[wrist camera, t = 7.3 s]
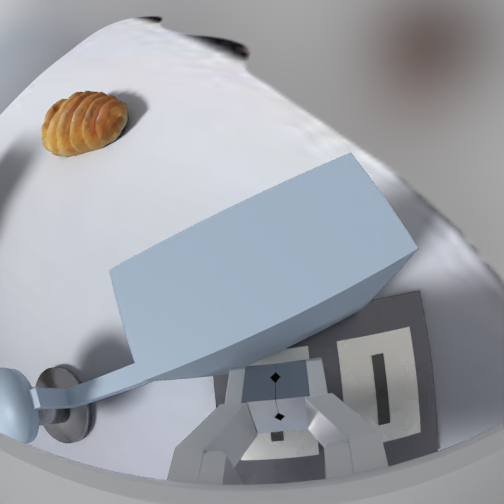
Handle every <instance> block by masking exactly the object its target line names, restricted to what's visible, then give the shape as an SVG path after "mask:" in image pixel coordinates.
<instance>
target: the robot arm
mask: <svg viewBox="0 0 504 504" xmlns="http://www.w3.org/2000/svg"><path fill="white" fill-rule="evenodd" d="M307 375H308V376H307ZM302 429H309V431H310V432H311V433H312V434H313V435H314V437H315V438H316V439H317V440H318V441H319V442H320V444H321V445H322V446H323V447H324V456H325V479H321V480H313V481H304V482H293V483H280V484H260V485H244V483H243V482H242V480H241V479H240V477H239V475H238V474H237V472H236V471H235V469H234V467H235V466H236V464H237V463H238V462H239V460H240V459H241V458H242V456H243V455H244V453H245V452H246V451H247V449H248V448H249V447H250V445H251V444H252V442H253V441H254V440H255V438H256V437H257V435H258V434H259V433H270V432H280V431H291V430H302ZM0 504H504V423H502V424H500V425H498V426H496V427H494V428H492V429H490V430H488V431H486V432H483V433H481V434H479V435H477V436H475V437H472V438H470V439H468V440H465V441H463V442H461V443H458V444H456V445H453V446H451V447H448V448H445V449H443V450H440V451H437V452H434V453H431V454H429V455H426V456H422V457H419V458H416V459H413V460H410V461H406V462H403V463H399V464H396V465H392V466H388V462H387V458H386V454H385V450H384V446H383V442H382V438H381V434H380V432H379V431H378V430H377V429H375V428H374V427H373V426H372V425H371V424H369V423H368V422H367V421H366V420H364V419H363V418H362V417H361V416H359V415H358V414H357V413H356V412H355V411H353V410H352V409H351V408H350V407H349V406H347V405H346V404H345V403H344V402H343V401H341V400H340V399H339V398H338V397H337V396H335V395H334V394H333V393H329V394H328V391H327V385H326V379H325V374H324V368H323V362H322V358H321V357H317V358H311V359H306V360H298V361H291V362H284V363H276V364H267V365H254V366H245V367H231V369H230V372H229V378H228V385H227V391H226V398H225V404H220V405H219V406H218V407H217V408H216V409H215V410H214V411H213V412H212V413H211V414H210V415H209V416H208V417H207V418H206V419H205V420H204V421H203V422H202V423H201V424H200V425H199V426H198V427H197V428H196V429H195V430H194V431H193V432H192V433H191V434H189V435H188V436H187V437H186V438H185V439H184V440H183V441H182V442H181V443H180V444H179V445H178V446H177V447H176V448H175V450H174V454H173V458H172V462H171V466H170V470H169V474H168V478H167V480H161V479H154V478H147V477H141V476H136V475H130V474H125V473H120V472H115V471H111V470H107V469H102V468H98V467H94V466H91V465H87V464H83V463H80V462H76V461H73V460H70V459H66V458H63V457H60V456H57V455H54V454H51V453H49V452H46V451H43V450H40V449H38V448H35V447H32V446H30V445H28V444H25V443H23V442H20V441H18V440H16V439H13V438H11V437H9V436H7V435H5V434H3V433H0Z"/></svg>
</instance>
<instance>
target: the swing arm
mask: <svg viewBox="0 0 504 504" xmlns="http://www.w3.org/2000/svg"><path fill="white" fill-rule="evenodd" d="M417 249H418V247H417V246H416V244H415V242H414V241H413V239H412V238H411V236H410V234H409V233H408V231H407V230H406V228H405V227H404V225H403V224H402V222H401V221H400V219H399V218H398V216H397V215H396V213H395V212H394V210H393V209H392V207H391V206H390V204H389V203H388V201H387V200H386V199H385V197H384V196H383V194H382V193H381V192H380V190H379V189H378V187H377V186H376V185H375V183H374V182H373V181H372V179H371V178H370V177H369V175H368V174H367V173H366V171H365V170H364V169H363V167H362V166H361V165H360V163H359V162H358V161H357V160H356V158H355V157H354V156H353V155H352V153H349V154H346V155H344V156H342V157H339V158H337V159H335V160H332V161H330V162H328V163H325V164H323V165H321V166H319V167H316V168H314V169H312V170H309V171H307V172H305V173H303V174H300V175H298V176H296V177H294V178H292V179H289V180H287V181H285V182H283V183H281V184H278V185H276V186H274V187H272V188H270V189H268V190H265V191H263V192H261V193H259V194H257V195H255V196H253V197H251V198H248V199H246V200H244V201H242V202H240V203H238V204H236V205H234V206H232V207H230V208H228V209H226V210H224V211H221V212H219V213H217V214H215V215H213V216H211V217H209V218H207V219H205V220H203V221H201V222H199V223H197V224H195V225H193V226H191V227H189V228H187V229H185V230H183V231H181V232H180V233H178V234H176V235H174V236H172V237H170V238H168V239H166V240H164V241H162V242H160V243H158V244H156V245H155V246H153V247H151V248H149V249H147V250H145V251H143V252H141V253H139V254H138V255H136V256H134V257H132V258H130V259H128V260H126V261H125V262H123V263H121V264H119V265H117V266H116V267H114V268H112V269H110V270H109V272H110V277H111V281H112V285H113V289H114V293H115V297H116V301H117V305H118V309H119V313H120V316H121V320H122V323H123V327H124V330H125V334H126V337H127V340H128V344H129V347H130V350H131V353H132V356H133V359H134V362H135V363H133V364H131V365H128V366H126V367H123V368H121V369H118V370H116V371H113V372H111V373H108V374H105V375H103V376H100V377H97V378H95V379H92V380H89V381H87V382H84V383H81V384H78V385H76V386H73V387H70V388H67V389H55V388H34V389H32V387H31V385H30V383H29V381H28V380H27V378H26V377H25V376H24V375H23V374H22V373H21V372H20V371H18V370H15V369H9V368H0V433H3V434H5V435H7V436H9V437H11V438H13V439H16V440H18V441H20V442H23V443H30V442H32V441H33V440H34V439H35V438H36V436H37V433H38V429H39V410H44V409H64V408H75V407H79V406H82V405H85V404H88V403H92V402H95V401H98V400H101V399H104V398H107V397H110V396H113V395H116V394H119V393H122V392H125V391H128V390H131V389H134V388H136V387H139V386H142V385H145V384H148V383H150V382H153V381H159V380H174V379H186V378H197V377H207V376H216V375H224V374H229V372H230V369H231V367H245V366H248V365H250V364H252V363H255V362H257V361H259V360H261V359H264V358H266V357H268V356H270V355H272V354H275V353H277V352H279V351H281V350H283V349H285V348H288V347H290V346H292V345H294V344H296V343H298V342H300V341H302V340H304V339H306V338H308V337H310V336H312V335H314V334H316V333H318V332H320V331H322V330H324V329H326V328H328V327H330V326H332V325H334V324H336V323H338V322H339V321H341V320H343V319H345V318H347V317H349V316H351V315H352V314H354V313H356V312H358V311H360V310H362V309H363V308H364V307H365V306H366V305H367V304H368V303H369V302H370V301H371V300H372V298H373V297H374V296H375V295H376V294H377V293H378V292H379V291H380V290H381V289H382V288H383V287H384V286H385V285H386V284H387V283H388V282H389V281H390V280H391V278H392V277H393V276H394V275H395V274H396V273H397V272H398V271H399V270H400V269H401V267H402V266H403V265H404V264H405V263H406V262H407V261H408V260H409V258H410V257H411V256H412V255H413V254H414V253H415V252H416V250H417Z"/></svg>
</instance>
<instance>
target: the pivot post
mask: <svg viewBox="0 0 504 504" xmlns="http://www.w3.org/2000/svg"><path fill="white" fill-rule="evenodd" d="M78 384H81V382H80V381H79V379H78V378H77V377H76V376H75V375H74V374H73V373H72V372H70V371H68V370H66V369H63V368H55V367H53V368H49V369H47V370H45V371H44V372H43V373H42V374H41V375H40V377H39V378H38V381H37V383H36V387H32V389H34V388H55V389H67V388H70V387H73V386H76V385H78ZM90 424H91V407H90V403H88V404H85V405H82V406H79V407H75V408H64V409H44V410H39V425H43V426H44V428H45V429H46V431H47V432H48V433H49V434H50V435H51V436H52V437H53V438H55V439H56V440H58V441H60V442H63V443H73V442H77V441H80V440H82V439H83V438H84V437H85V436H86V434H87V432H88V430H89V428H90Z"/></svg>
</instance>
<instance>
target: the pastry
mask: <svg viewBox="0 0 504 504" xmlns="http://www.w3.org/2000/svg"><path fill="white" fill-rule="evenodd" d="M127 120H128V114H127V106H126V104H125V103H124V102H121V101H118V100H117V99H116V98H115V97H114V96H108V95H106V94H105V93H103V92H100V93H99V92H91V91H85V92H76V93H74V94H73V95H71V96H70V97H69V98H68V99H61V100H60V101H58V102H56V103H55V104H54V105H53V106H52V107H51V108H50V109H49V110H48V112H47V114H46V116H45V120H44V124H43V125H42V140H43V145H44V147H45V148H46V149H47V150H49V151H50V152H52V153H53V154H54V155H57V156H65V157H70V156H76V155H78V154H83V153H86V152H90V151H94V150H97V149H101V148H103V147H104V146H105V145H107V144H109V143H111V142H114V141H115V140H116V139H117V137H118V136H119V135H120V134H121V131H122V130H123V128H124V127H125V125H126V123H127Z"/></svg>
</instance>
